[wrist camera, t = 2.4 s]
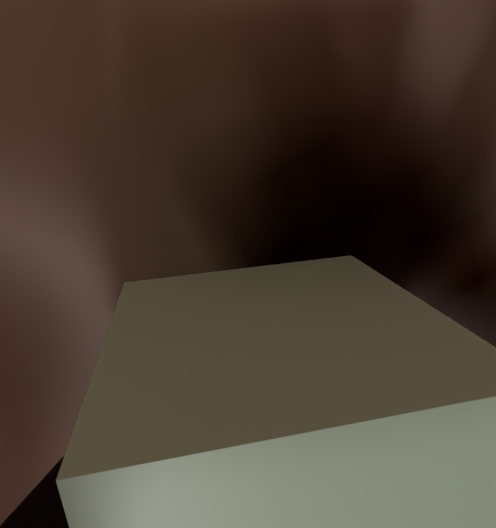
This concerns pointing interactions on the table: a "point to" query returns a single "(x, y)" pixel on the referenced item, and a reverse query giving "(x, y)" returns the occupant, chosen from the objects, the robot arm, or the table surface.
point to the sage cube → (284, 407)
